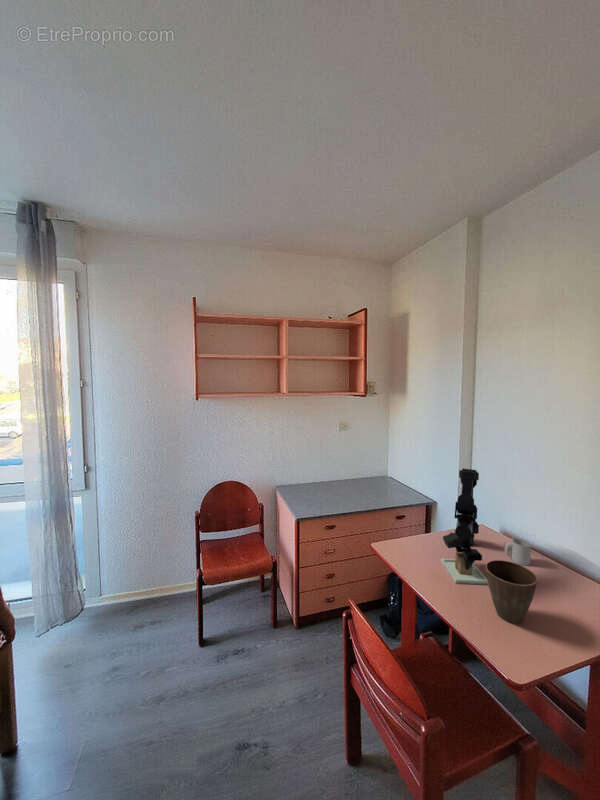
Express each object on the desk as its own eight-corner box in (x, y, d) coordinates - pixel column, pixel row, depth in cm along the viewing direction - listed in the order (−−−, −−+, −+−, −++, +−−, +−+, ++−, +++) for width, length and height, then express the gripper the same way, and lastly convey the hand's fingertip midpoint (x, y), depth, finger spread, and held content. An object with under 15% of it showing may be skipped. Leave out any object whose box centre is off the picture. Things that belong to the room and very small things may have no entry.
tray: (440, 561, 148) (440, 558, 148) (469, 562, 147) (470, 559, 147) (455, 583, 132) (456, 579, 132) (488, 584, 131) (488, 580, 131)
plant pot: (524, 639, 103) (527, 590, 102) (476, 612, 115) (478, 568, 114) (542, 619, 112) (544, 574, 111) (495, 596, 124) (497, 555, 123)
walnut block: (455, 567, 142) (455, 552, 142) (466, 567, 142) (467, 552, 142) (460, 574, 137) (460, 558, 137) (472, 574, 137) (472, 558, 137)
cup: (532, 567, 144) (533, 547, 144) (506, 562, 148) (506, 543, 147) (527, 559, 151) (528, 540, 150) (502, 554, 154) (503, 536, 154)
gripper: (437, 520, 148) (436, 553, 149) (454, 539, 130) (453, 577, 131) (462, 520, 148) (461, 554, 149) (483, 540, 129) (482, 578, 130)
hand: (463, 565), depth 139 cm, fingers open, 6 cm apart
